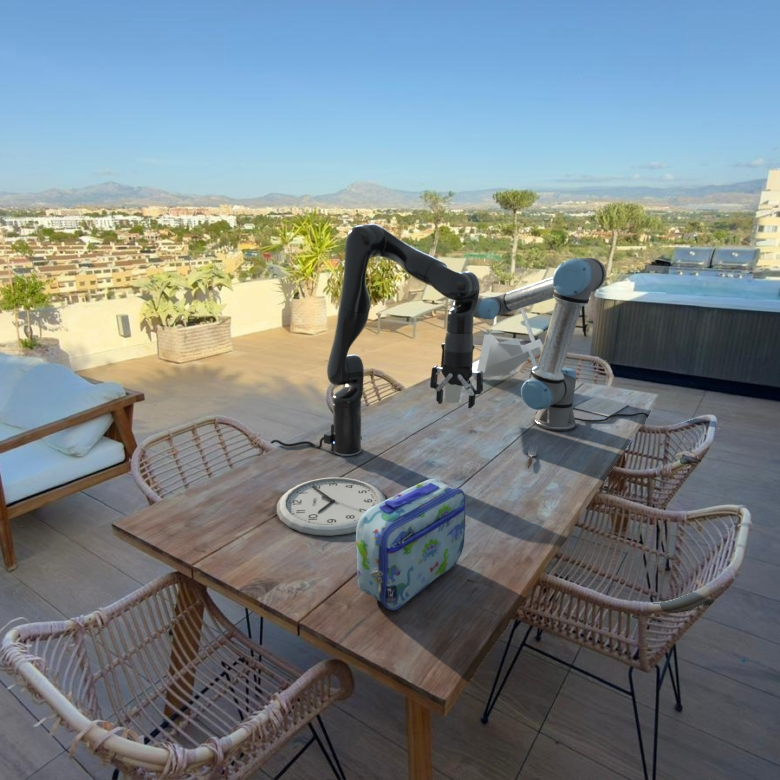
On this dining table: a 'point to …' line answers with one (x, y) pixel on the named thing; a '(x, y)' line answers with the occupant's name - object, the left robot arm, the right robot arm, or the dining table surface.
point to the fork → (531, 456)
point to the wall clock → (327, 505)
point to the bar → (452, 393)
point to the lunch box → (409, 541)
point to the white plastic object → (506, 353)
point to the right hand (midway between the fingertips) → (455, 384)
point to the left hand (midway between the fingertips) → (455, 405)
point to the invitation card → (601, 406)
